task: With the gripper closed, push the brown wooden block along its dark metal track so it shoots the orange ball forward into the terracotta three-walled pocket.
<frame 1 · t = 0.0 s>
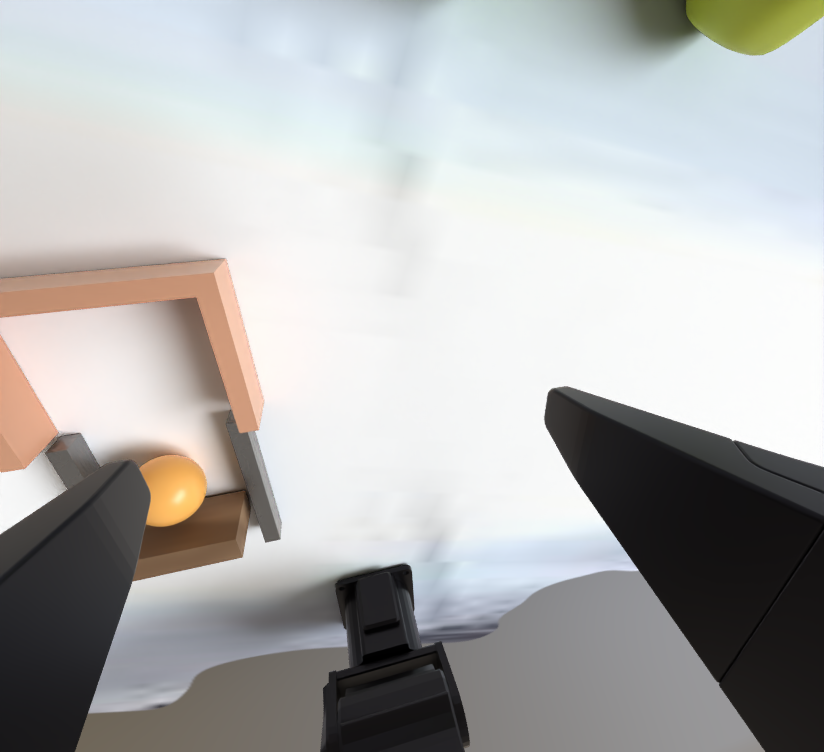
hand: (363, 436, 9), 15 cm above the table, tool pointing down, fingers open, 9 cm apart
pocket: (131, 360, 21), on the table
track: (185, 485, 25), on the table
brown wooden block: (186, 533, 24), point 2 cm above the table, slide at 0.0 cm
ball: (168, 489, 23), point 2 cm above the table
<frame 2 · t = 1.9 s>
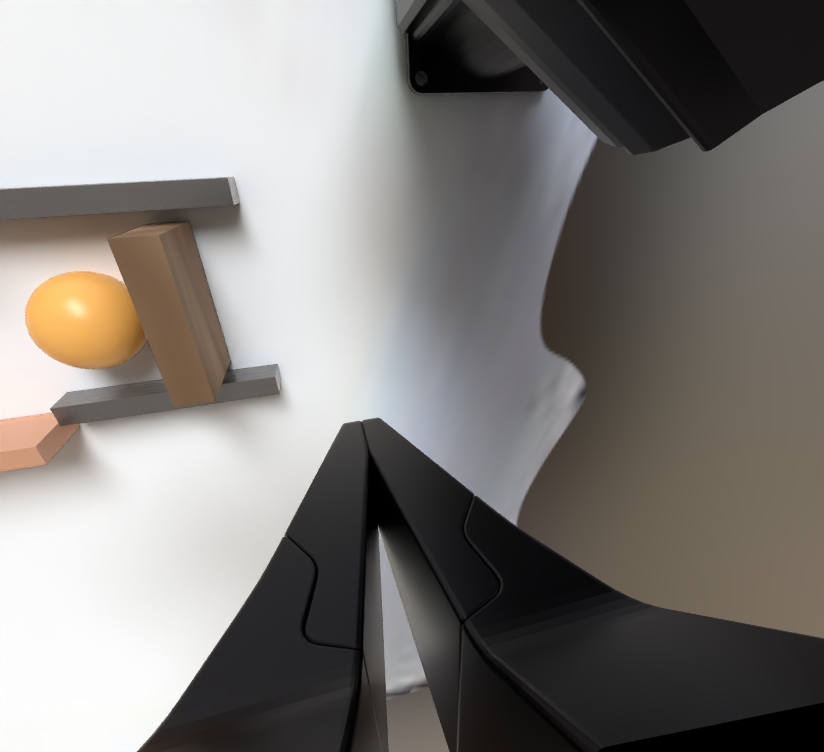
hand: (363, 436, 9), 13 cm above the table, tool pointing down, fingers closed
track: (148, 302, 18), on the table
brown wooden block: (181, 312, 17), point 2 cm above the table, slide at 0.0 cm
ball: (92, 321, 16), point 2 cm above the table
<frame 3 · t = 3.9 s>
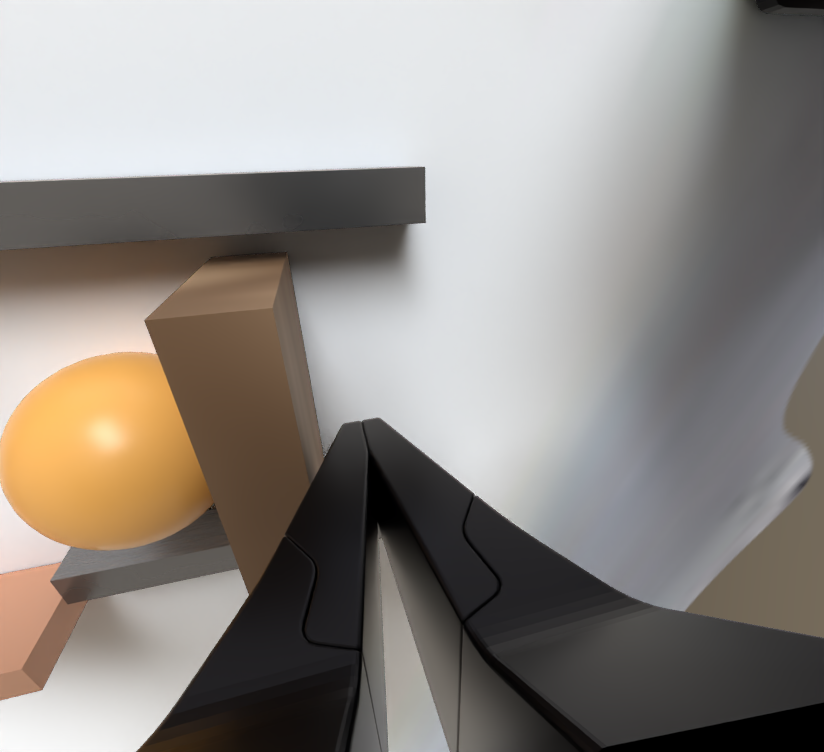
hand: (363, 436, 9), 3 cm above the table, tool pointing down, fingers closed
track: (228, 390, 10), on the table
brown wooden block: (273, 431, 9), point 2 cm above the table, slide at 0.7 cm, touching gripper
ball: (135, 446, 8), point 2 cm above the table
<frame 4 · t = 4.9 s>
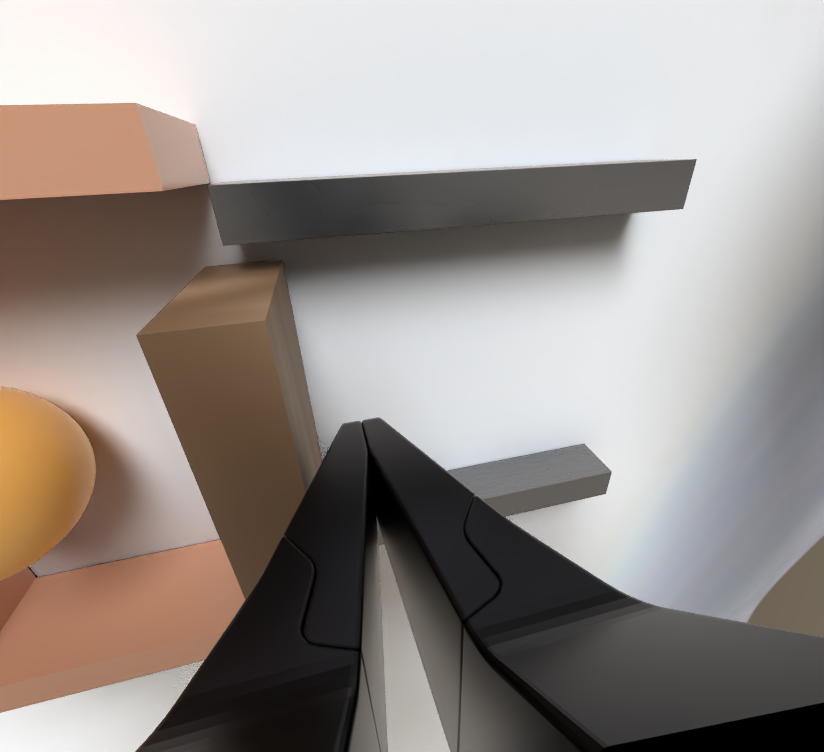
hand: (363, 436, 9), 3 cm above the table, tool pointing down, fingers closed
pocket: (107, 415, 10), on the table
track: (453, 364, 11), on the table
brown wooden block: (270, 440, 9), point 2 cm above the table, slide at 6.9 cm, touching gripper
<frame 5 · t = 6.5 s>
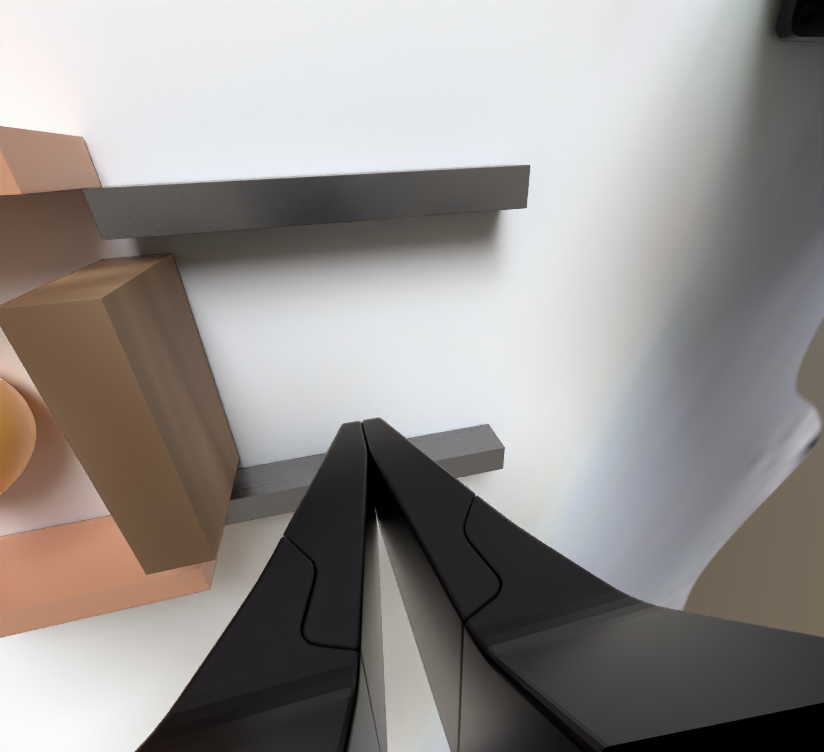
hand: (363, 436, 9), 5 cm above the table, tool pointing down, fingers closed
pocket: (28, 391, 11), on the table
track: (349, 348, 13), on the table
brown wooden block: (159, 410, 10), point 2 cm above the table, slide at 7.0 cm
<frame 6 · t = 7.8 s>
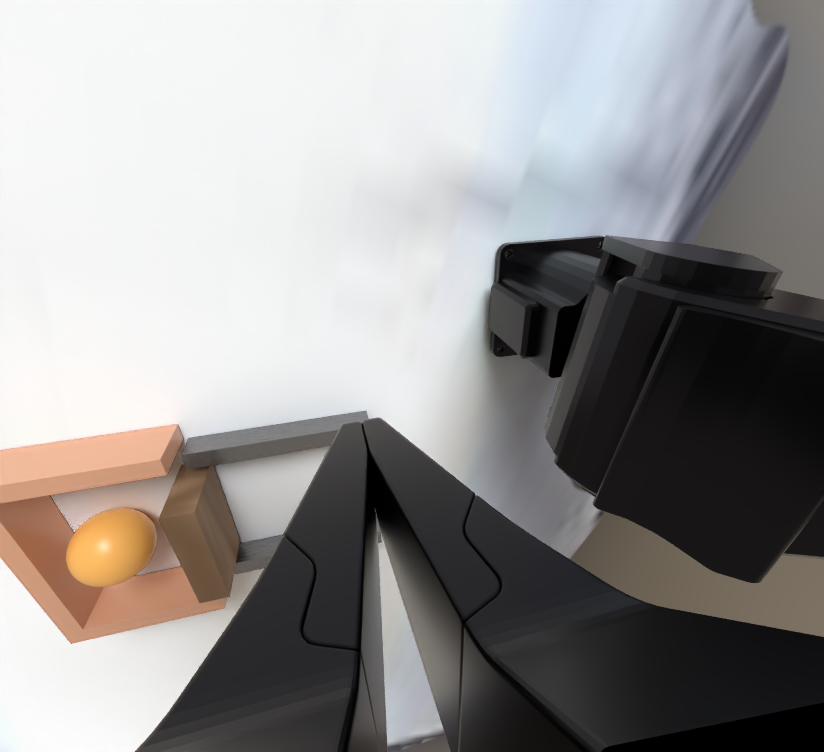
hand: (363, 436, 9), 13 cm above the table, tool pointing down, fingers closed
pocket: (141, 515, 23), on the table
track: (295, 487, 25), on the table
brown wooden block: (205, 530, 22), point 2 cm above the table, slide at 7.0 cm
ball: (114, 546, 22), point 2 cm above the table, tilted 127°
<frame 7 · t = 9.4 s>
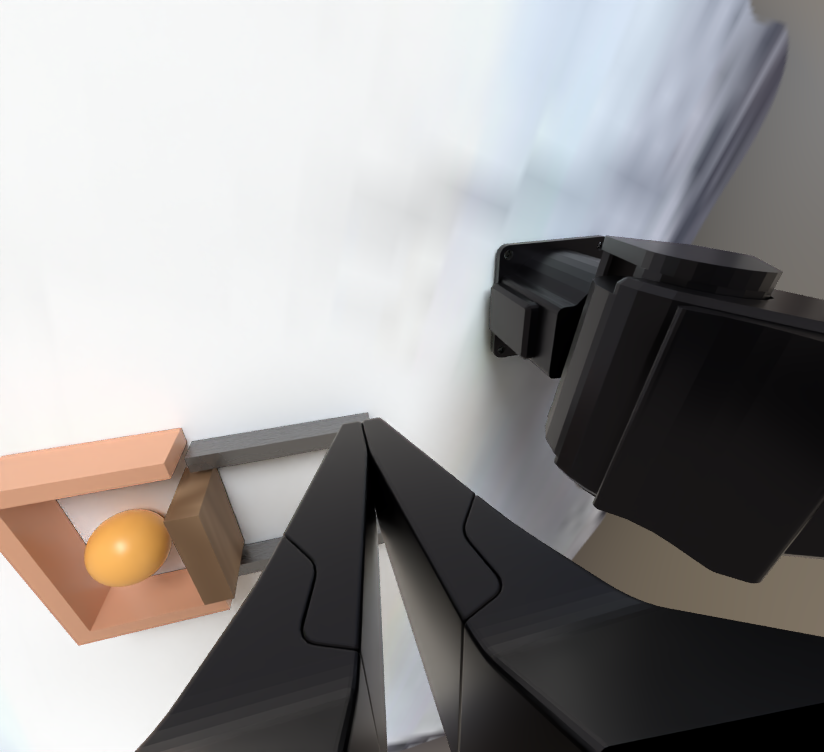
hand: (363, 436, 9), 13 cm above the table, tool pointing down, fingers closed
pocket: (146, 518, 24), on the table
track: (298, 489, 25), on the table
brown wooden block: (209, 533, 23), point 2 cm above the table, slide at 7.0 cm
ball: (130, 546, 22), point 2 cm above the table, tilted 143°
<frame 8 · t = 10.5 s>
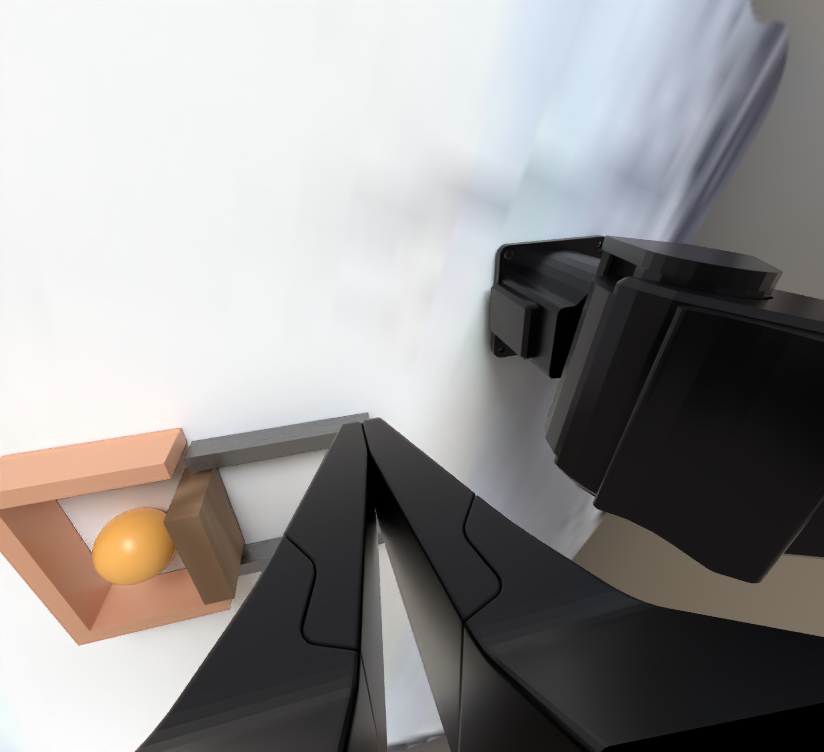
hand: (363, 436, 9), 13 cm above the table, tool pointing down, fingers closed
pocket: (146, 518, 24), on the table
track: (298, 489, 25), on the table
brown wooden block: (209, 533, 23), point 2 cm above the table, slide at 7.0 cm
ball: (137, 545, 22), point 2 cm above the table, tilted 154°
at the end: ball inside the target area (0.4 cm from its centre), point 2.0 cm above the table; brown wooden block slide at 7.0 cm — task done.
